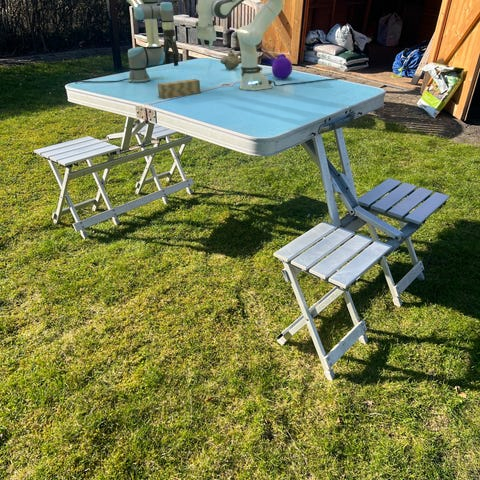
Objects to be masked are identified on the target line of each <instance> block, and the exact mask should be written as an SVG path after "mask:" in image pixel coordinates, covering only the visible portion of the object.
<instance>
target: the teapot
mask: <svg viewBox="0 0 480 480" xmlns="http://www.w3.org/2000/svg"><path fill="white" fill-rule="evenodd" d="M238 58H239V59H238ZM220 63H221V64H222V65H224V67H225V69H226V70H232V71H233V70H235V69H237V67H239V65H240V64H241V51H238V52H237V53H235V52H233V50H232V49H230V50H229V53H228V54H227V56H224V55H223V56H222V57H221V58H220Z"/></svg>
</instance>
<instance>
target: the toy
mask: <svg viewBox="0 0 480 480" xmlns="http://www.w3.org/2000/svg"><path fill="white" fill-rule="evenodd" d="M260 60H261V61H262V62H264V63H266V64H268V65H270V66H271V72H272V75H273V76H274V77H275V78H276V79H279V80H285V79H287V78H289V77H290V75H291V74H292V72H293V63H292V62H291V61H290V59H289V58H287V57H286V55H285V54H284V53H280V54H278V55H277V56H276V58H268V57H266V58H265V57H263V58H262V57H261V58H260Z"/></svg>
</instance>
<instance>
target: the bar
mask: <svg viewBox="0 0 480 480" xmlns="http://www.w3.org/2000/svg"><path fill="white" fill-rule="evenodd" d="M156 85H157V94H158V98H159V99H160V98H161V99H163V100H165V99H170V98H175V97H176V98H177V97H184V96H188V95H196V94H197V95H198V94H201V81H200V79H197V78H192V79H191V78H190V79H186V80H185V79H184V80H177V81H170V82H163V83H162V82H161V83H157V84H156Z"/></svg>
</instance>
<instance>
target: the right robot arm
mask: <svg viewBox="0 0 480 480" xmlns="http://www.w3.org/2000/svg"><path fill="white" fill-rule="evenodd" d="M244 1H245V0H197V13H198V20H197V21H195V31H196V38H197V39H199V40H200V43H201V47H202V48H205V47H206V43H205V41H208V42H209V43H208V49H213V45H214V42H216V41H217V31H216V28H215V26H214V22H213V19H214V18H213V17H216V18H218V19H221V20H225V19H228V18H229V17H230V15H231V14H232V12H233V11H234V9H236V8H237V7H238V6H239V5H242V3H244ZM284 5H285V2H284V0H266V2H265V3H264V4H263V5H262V6H261V7H260V9H259V10H258V11H257V12H256V14H254V18H253V20H252V21H251V24H250V25H246V24H245V25H242V26H240V27H239V28H238V29H237V32H236V37H237V40H238V44H239V50H240V52H241V63H240V64H241V66H240V84H239V89H240V90H244V91H253V92H254V91H261V90H267V89H268V90H269V89H272V88H273V85H274V86H275V87H281V86H288V85H289V86H290V85H299V84H308V83H317V82H324V81H334V80H342V79H344V80H347V78H346V76H345V77H344V76H341V77H336V78H335V77H334V78H327V79H316V80H308V81H300V82H299V81H298V82H288V83H281V84H276V82H275V81H273V80H272V79H271V80H270V79H269V78H268V77H267V76H266V75H265V74H264V73H262V72H261V71H263V67H262V66H259V62H258V61H259V56H258V55H259V53H258V51H257V47H256V46H257V45H259V44H260V43H261V42H262V41H263V36H264V34H265V33H266V32H267V29H268V28H269V27H270V25H271V24H272V23H273V22H274V21H275V20H276V18H277V17H278V16H279V14H280V13H281V11H282V10H283V8H284ZM272 84H273V85H272Z"/></svg>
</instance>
